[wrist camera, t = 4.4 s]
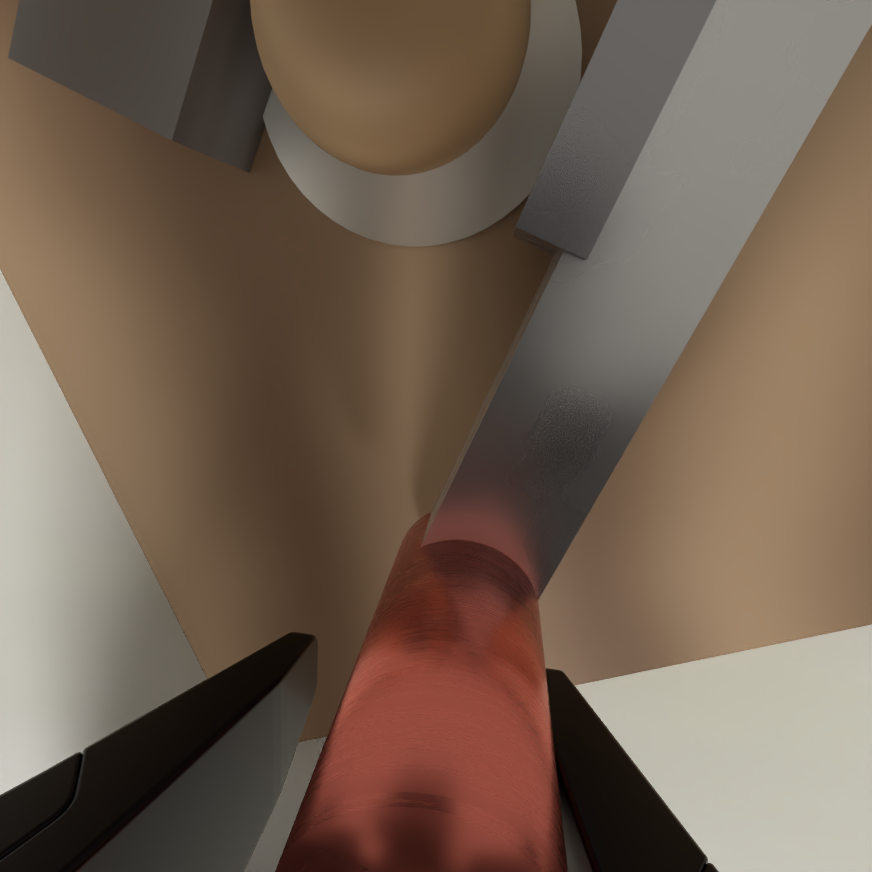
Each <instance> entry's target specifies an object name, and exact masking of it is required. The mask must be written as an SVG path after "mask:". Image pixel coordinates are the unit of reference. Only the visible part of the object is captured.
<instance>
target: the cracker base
mask: <svg viewBox="0 0 872 872" xmlns="http://www.w3.org/2000/svg"><path fill="white" fill-rule="evenodd" d="M616 3H617V0H531V25H530V34H529V41H528V48H527V52H526V56H525V60H524V64H523V67H522V71H521V75H520V77H519V80H518V82H517V85H516V88H515V90H514V93H513V95H512V97H511V99H510V100H509V102H508V104H507V106H506V108H505V110H504V111H503V113H502V114H501V116H500V117H499V119H498V120H497V121H496V123H495V124H494V126H493V127H492V128H491V129H490V130H489V131H488V132H487V134H486V135H485V136H484V137H483V138H482V139H481V140H480V141H479V142H478V143H477V144H475V145H474V146H473V147H472V148H471V149H470V150H468V151H467V152H466V153H464V154H463V155H461V156H460V157H458V158H457V159H455V160H453V161H451V162H449V163H447V164H445V165H443V166H441V167H439V168H436V169H433V170H430V171H427V172H423V173H418V174H412V175H399V176H390V175H381V174H375V173H371V172H367V171H363V170H360V169H358V168H355V167H353V166H351V165H348V164H346V163H344V162H341V161H340V160H338V159H336V158H335V157H333V156H331V155H330V154H328V153H326V152H325V151H324V150H323V149H321V148H320V147H319V146H317V145H316V144H315V143H314V142H313V141H312V140H311V139H310V138H309V137H308V136H307V135H306V134H305V133H304V132H303V131H302V130H301V129H300V128H299V127H298V126H297V125H296V124H295V123H294V121H293V120H292V119H291V117H290V116H289V115H288V113H287V112H286V111H285V109H284V108H283V106H282V104H281V102H280V101H279V99H278V97H277V96H276V94H275V92H274V90H273V88H272V86H271V84H270V82H269V80H268V77H267V75H266V73H265V70H264V68H263V65H262V62H261V59H260V55H259V52H258V49H257V45H256V40H255V35H254V30H253V25H252V18H251V6H250V0H0V269H1V271H2V273H3V275H4V277H5V279H6V281H7V283H8V285H9V287H10V289H11V291H12V293H13V295H14V297H15V299H16V301H17V303H18V305H19V307H20V309H21V311H22V313H23V315H24V317H25V319H26V321H27V323H28V325H29V327H30V329H31V331H32V333H33V335H34V337H35V339H36V341H37V343H38V345H39V347H40V349H41V351H42V352H43V354H44V356H45V358H46V360H47V362H48V364H49V366H50V368H51V370H52V372H53V374H54V376H55V378H56V380H57V382H58V384H59V386H60V388H61V390H62V392H63V394H64V396H65V398H66V400H67V402H68V404H69V406H70V408H71V410H72V412H73V414H74V416H75V418H76V420H77V422H78V424H79V426H80V428H81V430H82V432H83V434H84V436H85V438H86V440H87V442H88V444H89V445H90V447H91V449H92V451H93V453H94V455H95V457H96V459H97V461H98V463H99V465H100V467H101V469H102V471H103V473H104V475H105V477H106V479H107V481H108V483H109V485H110V487H111V489H112V491H113V493H114V495H115V497H116V499H117V501H118V503H119V505H120V507H121V509H122V511H123V513H124V515H125V517H126V519H127V521H128V523H129V525H130V527H131V529H132V531H133V533H134V535H135V537H136V538H137V540H138V542H139V544H140V546H141V548H142V550H143V552H144V554H145V556H146V558H147V560H148V562H149V564H150V566H151V568H152V570H153V572H154V574H155V576H156V578H157V580H158V582H159V584H160V586H161V588H162V590H163V592H164V594H165V596H166V598H167V600H168V602H169V604H170V606H171V608H172V610H173V612H174V614H175V616H176V618H177V620H178V622H179V624H180V626H181V628H182V630H183V631H184V633H185V635H186V637H187V639H188V641H189V643H190V645H191V647H192V649H193V651H194V653H195V655H196V657H197V659H198V661H199V663H200V665H201V667H202V669H203V671H204V673H205V675H206V677H207V679H208V678H210V677H212V676H214V675H215V674H217V673H219V672H221V671H222V670H224V669H226V668H228V667H230V666H231V665H233V664H235V663H237V662H238V661H240V660H242V659H244V658H245V657H247V656H249V655H251V654H252V653H254V652H256V651H258V650H260V649H261V648H263V647H265V646H267V645H268V644H270V643H272V642H274V641H275V640H277V639H279V638H281V637H282V636H284V635H286V634H288V633H290V632H299V633H306V634H313V635H315V636H316V638H317V641H318V668H317V686H316V691H315V695H314V698H313V701H312V704H311V707H310V710H309V713H308V716H307V719H306V722H305V724H304V727H303V730H302V733H301V736H300V739H299V742H301V741H306V740H311V739H316V738H321V737H326V736H328V733H329V730H330V728H331V725H332V723H333V720H334V717H335V715H336V712H337V710H338V707H339V704H340V702H341V699H342V697H343V694H344V691H345V689H346V686H347V684H348V681H349V678H350V676H351V673H352V670H353V668H354V665H355V663H356V660H357V657H358V655H359V652H360V650H361V647H362V644H363V642H364V639H365V637H366V634H367V631H368V629H369V626H370V623H371V621H372V618H373V616H374V613H375V610H376V608H377V605H378V603H379V600H380V597H381V595H382V592H383V590H384V587H385V584H386V582H387V579H388V577H389V574H390V571H391V569H392V566H393V563H394V561H395V558H396V556H397V553H398V550H399V548H400V545H401V543H402V540H403V538H404V536H405V535H406V533H407V531H408V530H409V529H410V528H411V526H412V525H413V524H414V523H415V522H416V521H417V520H419V519H420V518H421V517H423V516H424V515H426V514H427V513H429V512H431V511H432V509H433V507H434V505H435V503H436V501H437V499H438V497H439V495H440V492H441V490H442V488H443V486H444V484H445V482H446V480H447V478H448V476H449V474H450V472H451V470H452V467H453V465H454V463H455V461H456V459H457V457H458V455H459V453H460V451H461V449H462V447H463V445H464V442H465V440H466V438H467V436H468V434H469V432H470V430H471V428H472V426H473V424H474V422H475V419H476V417H477V415H478V413H479V411H480V409H481V407H482V405H483V403H484V401H485V399H486V397H487V394H488V392H489V390H490V388H491V386H492V384H493V382H494V380H495V378H496V376H497V374H498V372H499V369H500V367H501V365H502V363H503V361H504V359H505V357H506V355H507V353H508V351H509V349H510V347H511V344H512V342H513V340H514V338H515V336H516V334H517V332H518V330H519V328H520V326H521V324H522V322H523V319H524V317H525V315H526V313H527V311H528V309H529V307H530V305H531V303H532V301H533V299H534V297H535V294H536V292H537V290H538V288H539V286H540V284H541V282H542V280H543V278H544V276H545V274H546V272H547V269H548V267H549V265H550V263H551V261H552V259H553V257H554V255H552V254H549V253H547V252H545V251H543V250H541V249H539V248H536V247H534V246H532V245H530V244H528V243H526V242H523V241H521V240H519V239H517V238H515V237H513V234H514V230H515V226H516V224H517V222H518V220H519V217H520V215H521V213H522V211H523V209H524V206H525V204H526V202H527V200H528V197H529V195H530V193H531V191H532V189H533V186H534V184H535V182H536V180H537V178H538V175H539V173H540V171H541V169H542V166H543V164H544V162H545V160H546V158H547V155H548V153H549V151H550V149H551V147H552V144H553V142H554V140H555V138H556V135H557V133H558V131H559V129H560V127H561V124H562V122H563V120H564V118H565V116H566V113H567V111H568V109H569V107H570V105H571V102H572V100H573V98H574V96H575V93H576V91H577V89H578V87H579V85H580V82H581V80H582V78H583V76H584V74H585V71H586V69H587V67H588V65H589V62H590V60H591V58H592V56H593V54H594V51H595V49H596V47H597V45H598V43H599V40H600V38H601V36H602V34H603V31H604V29H605V27H606V25H607V23H608V20H609V18H610V16H611V14H612V12H613V9H614V7H615V5H616ZM538 603H539V612H540V622H541V631H542V640H543V649H544V658H545V667H546V668H550V669H557V670H561V671H563V672H564V673H565V674H566V676H567V677H568V678H569V679H570V681H571V682H572V683H573V685H579V684H584V683H589V682H593V681H598V680H603V679H608V678H613V677H618V676H623V675H628V674H632V673H637V672H642V671H647V670H652V669H657V668H662V667H666V666H671V665H676V664H681V663H686V662H691V661H696V660H701V659H705V658H710V657H715V656H720V655H725V654H730V653H735V652H739V651H744V650H749V649H754V648H759V647H764V646H769V645H774V644H778V643H783V642H788V641H793V640H798V639H803V638H808V637H813V636H817V635H822V634H827V633H832V632H837V631H842V630H847V629H851V628H856V627H861V626H866V625H871V624H872V25H871V26H870V28H869V30H868V32H867V33H866V35H865V37H864V39H863V40H862V42H861V44H860V45H859V47H858V49H857V51H856V52H855V54H854V56H853V58H852V59H851V61H850V63H849V64H848V66H847V68H846V70H845V71H844V73H843V75H842V77H841V78H840V80H839V82H838V83H837V85H836V87H835V89H834V90H833V92H832V94H831V96H830V97H829V99H828V101H827V102H826V104H825V106H824V108H823V109H822V111H821V113H820V115H819V116H818V118H817V120H816V121H815V123H814V125H813V127H812V128H811V130H810V132H809V134H808V135H807V137H806V139H805V140H804V142H803V144H802V146H801V147H800V149H799V151H798V153H797V154H796V156H795V158H794V159H793V161H792V163H791V165H790V166H789V168H788V170H787V172H786V173H785V175H784V177H783V178H782V180H781V182H780V184H779V185H778V187H777V189H776V191H775V192H774V194H773V196H772V197H771V199H770V201H769V203H768V204H767V206H766V208H765V210H764V211H763V213H762V215H761V216H760V218H759V220H758V222H757V223H756V225H755V227H754V229H753V230H752V232H751V234H750V235H749V237H748V239H747V241H746V242H745V244H744V246H743V248H742V249H741V251H740V253H739V254H738V256H737V258H736V260H735V261H734V263H733V265H732V267H731V268H730V270H729V272H728V273H727V275H726V277H725V279H724V280H723V282H722V284H721V286H720V287H719V289H718V291H717V292H716V294H715V296H714V298H713V299H712V301H711V303H710V305H709V306H708V308H707V310H706V311H705V313H704V315H703V317H702V318H701V320H700V322H699V324H698V325H697V327H696V329H695V330H694V332H693V334H692V336H691V337H690V339H689V341H688V343H687V344H686V346H685V348H684V349H683V351H682V353H681V355H680V356H679V358H678V360H677V362H676V363H675V365H674V367H673V368H672V370H671V372H670V374H669V375H668V377H667V379H666V381H665V382H664V384H663V386H662V387H661V389H660V391H659V393H658V394H657V396H656V398H655V400H654V401H653V403H652V405H651V406H650V408H649V410H648V412H647V413H646V415H645V417H644V419H643V420H642V422H641V424H640V425H639V427H638V429H637V431H636V432H635V434H634V436H633V438H632V439H631V441H630V443H629V444H628V446H627V448H626V450H625V451H624V453H623V455H622V457H621V458H620V460H619V462H618V463H617V465H616V467H615V469H614V470H613V472H612V474H611V476H610V477H609V479H608V481H607V482H606V484H605V486H604V488H603V489H602V491H601V493H600V495H599V496H598V498H597V500H596V501H595V503H594V505H593V507H592V508H591V510H590V512H589V514H588V515H587V517H586V519H585V520H584V522H583V524H582V526H581V527H580V529H579V531H578V533H577V534H576V536H575V538H574V539H573V541H572V543H571V545H570V546H569V548H568V550H567V552H566V553H565V555H564V557H563V558H562V560H561V562H560V564H559V565H558V567H557V569H556V571H555V572H554V574H553V576H552V577H551V579H550V581H549V583H548V584H547V586H546V588H545V590H544V591H543V593H542V595H541V596H540V598H539V600H538Z"/></svg>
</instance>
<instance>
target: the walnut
mask: <svg viewBox="0 0 872 872" xmlns="http://www.w3.org/2000/svg"><path fill="white" fill-rule="evenodd" d="M250 6H251V18H252V25H253V30H254V35H255V40H256V45H257V49H258V52H259V55H260V59H261V62H262V65H263V68H264V70H265V73H266V75H267V77H268V80H269V82H270V84H271V86H272V88H273V90H274V92H275V94H276V96H277V97H278V99H279V101H280V102H281V104H282V106H283V108H284V109H285V111H286V112H287V113H288V115H289V116H290V117H291V119H292V120H293V121H294V123H295V124H296V125H297V126H298V127H299V128H300V129H301V130H302V131H303V132H304V133H305V134H306V135H307V136H308V137H309V138H310V139H311V140H312V141H313V142H314V143H315V144H316V145H317V146H319V147H320V148H321V149H323V150H324V151H325V152H326V153H328V154H330V155H331V156H333V157H335V158H336V159H338V160H340V161H341V162H344V163H346V164H348V165H351V166H353V167H355V168H358V169H360V170H363V171H367V172H371V173H375V174H381V175H390V176H399V175H412V174H418V173H423V172H427V171H430V170H433V169H436V168H439V167H441V166H443V165H445V164H447V163H449V162H451V161H453V160H455V159H457V158H458V157H460V156H461V155H463V154H464V153H466V152H467V151H468V150H470V149H471V148H472V147H473V146H474V145H475V144H477V143H478V142H479V141H480V140H481V139H482V138H483V137H484V136H485V135H486V134H487V132H488V131H489V130H490V129H491V128H492V127H493V126H494V124H495V123H496V121H497V120H498V119H499V117H500V116H501V114H502V113H503V111H504V110H505V108H506V106H507V104H508V102H509V100H510V99H511V97H512V95H513V93H514V90H515V88H516V85H517V82H518V80H519V77H520V75H521V71H522V67H523V64H524V60H525V56H526V52H527V48H528V41H529V34H530V25H531V0H250Z"/></svg>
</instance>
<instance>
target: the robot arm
mask: <svg viewBox="0 0 872 872" xmlns="http://www.w3.org/2000/svg"><path fill="white" fill-rule="evenodd" d="M317 668H318V641H317V638H316V636H315V635H313V634H306V633H299V632H290V633H288V634H286V635H284V636H282V637H281V638H279V639H277V640H275V641H274V642H272V643H270V644H268V645H267V646H265V647H263V648H261V649H260V650H258V651H256V652H254V653H252V654H251V655H249V656H247V657H245V658H244V659H242V660H240V661H238V662H237V663H235V664H233V665H231V666H230V667H228V668H226V669H224V670H222V671H221V672H219V673H217V674H215V675H214V676H212V677H210V678H208V679H207V680H205V681H203V682H201V683H200V684H198V685H196V686H194V687H192V688H191V689H189V690H187V691H185V692H184V693H182V694H180V695H178V696H177V697H175V698H173V699H171V700H170V701H168V702H166V703H164V704H162V705H161V706H159V707H157V708H155V709H154V710H152V711H150V712H148V713H147V714H145V715H143V716H141V717H140V718H138V719H136V720H134V721H132V722H131V723H129V724H127V725H125V726H124V727H122V728H120V729H118V730H117V731H115V732H113V733H111V734H110V735H108V736H106V737H104V738H102V739H101V740H99V741H97V742H95V743H94V744H92V745H90V746H88V747H87V748H85V749H84V751H83V754H82V753H80V752H78V753H76V754H74V755H72V756H70V757H69V758H67V759H65V760H63V761H62V762H60V763H58V764H56V765H54V766H53V767H51V768H49V769H47V770H46V771H44V772H42V773H40V774H38V775H36V776H35V777H33V778H31V779H29V780H27V781H25V782H23V783H22V784H20V785H18V786H16V787H14V788H12V789H11V790H9V791H7V792H5V793H3V794H1V795H0V872H244V870H245V868H246V866H247V864H248V862H249V860H250V857H251V855H252V853H253V851H254V849H255V847H256V845H257V842H258V840H259V838H260V836H261V834H262V832H263V830H264V828H265V825H266V823H267V821H268V819H269V817H270V815H271V813H272V811H273V808H274V806H275V804H276V802H277V799H278V797H279V795H280V792H281V790H282V787H283V784H284V782H285V779H286V776H287V773H288V770H289V768H290V765H291V762H292V759H293V756H294V753H295V750H296V747H297V745H298V742H299V739H300V736H301V733H302V730H303V727H304V724H305V722H306V719H307V716H308V713H309V710H310V707H311V704H312V701H313V698H314V695H315V691H316V686H317ZM546 676H547V685H548V694H549V704H550V713H551V722H552V731H553V740H554V749H555V758H556V767H557V776H558V785H559V795H560V804H561V813H562V822H563V831H564V840H565V849H566V858H567V867H568V872H718V870H717V869H716V868H715V866H714V865H713V864H711V863H708V859H707V857H706V855H705V854H704V853H703V851H702V850H701V849H700V847H699V846H698V845H697V844H696V842H695V841H694V840H693V838H692V837H691V836H690V835H689V833H688V832H687V831H686V829H685V828H684V827H683V825H682V824H681V823H680V822H679V820H678V819H677V818H676V816H675V815H674V814H673V813H672V811H671V810H670V809H669V807H668V806H667V805H666V803H665V802H664V801H663V800H662V798H661V797H660V796H659V794H658V793H657V792H656V791H655V789H654V788H653V787H652V785H651V784H650V783H649V782H648V780H647V779H646V778H645V776H644V775H643V774H642V772H641V771H640V770H639V769H638V767H637V766H636V765H635V763H634V762H633V761H632V760H631V758H630V757H629V756H628V754H627V753H626V752H625V750H624V749H623V748H622V747H621V745H620V744H619V743H618V741H617V740H616V739H615V738H614V736H613V735H612V734H611V732H610V731H609V730H608V729H607V727H606V726H605V725H604V723H603V722H602V721H601V719H600V718H599V717H598V716H597V714H596V713H595V712H594V710H593V709H592V708H591V707H590V705H589V704H588V703H587V701H586V700H585V699H584V697H583V696H582V695H581V694H580V692H579V691H578V690H577V688H576V687H575V686H574V685H573V683H572V682H571V681H570V679H569V678H568V677H567V676H566V674H565V673H564V672H563V671H561V670H557V669H550V668H546Z"/></svg>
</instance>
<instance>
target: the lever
mask: <svg viewBox="0 0 872 872" xmlns="http://www.w3.org/2000/svg"><path fill="white" fill-rule="evenodd" d="M871 25H872V0H617V3H616V5H615V7H614V9H613V12H612V14H611V16H610V18H609V20H608V23H607V25H606V27H605V29H604V31H603V34H602V36H601V38H600V40H599V43H598V45H597V47H596V49H595V51H594V54H593V56H592V58H591V60H590V62H589V65H588V67H587V69H586V71H585V74H584V76H583V78H582V80H581V82H580V85H579V87H578V89H577V91H576V93H575V96H574V98H573V100H572V102H571V105H570V107H569V109H568V111H567V113H566V116H565V118H564V120H563V122H562V124H561V127H560V129H559V131H558V133H557V135H556V138H555V140H554V142H553V144H552V147H551V149H550V151H549V153H548V155H547V158H546V160H545V162H544V164H543V166H542V169H541V171H540V173H539V175H538V178H537V180H536V182H535V184H534V186H533V189H532V191H531V193H530V195H529V197H528V200H527V202H526V204H525V206H524V209H523V211H522V213H521V215H520V217H519V220H518V222H517V224H516V226H515V230H514V234H513V237H515V238H517V239H519V240H521V241H523V242H526V243H528V244H530V245H532V246H534V247H536V248H539V249H541V250H543V251H545V252H547V253H549V254H552V255H554V257H553V259H552V261H551V263H550V265H549V267H548V269H547V272H546V274H545V276H544V278H543V280H542V282H541V284H540V286H539V288H538V290H537V292H536V294H535V297H534V299H533V301H532V303H531V305H530V307H529V309H528V311H527V313H526V315H525V317H524V319H523V322H522V324H521V326H520V328H519V330H518V332H517V334H516V336H515V338H514V340H513V342H512V344H511V347H510V349H509V351H508V353H507V355H506V357H505V359H504V361H503V363H502V365H501V367H500V369H499V372H498V374H497V376H496V378H495V380H494V382H493V384H492V386H491V388H490V390H489V392H488V394H487V397H486V399H485V401H484V403H483V405H482V407H481V409H480V411H479V413H478V415H477V417H476V419H475V422H474V424H473V426H472V428H471V430H470V432H469V434H468V436H467V438H466V440H465V442H464V445H463V447H462V449H461V451H460V453H459V455H458V457H457V459H456V461H455V463H454V465H453V467H452V470H451V472H450V474H449V476H448V478H447V480H446V482H445V484H444V486H443V488H442V490H441V492H440V495H439V497H438V499H437V501H436V503H435V505H434V507H433V509H432V511H431V512H429V513H427V514H426V515H424V516H423V517H421V518H420V519H419V520H417V521H416V522H415V523H414V524H413V525H412V526H411V528H410V529H409V530H408V531H407V533H406V535H405V536H404V538H403V540H402V543H401V545H400V548H399V550H398V553H397V556H396V558H395V561H394V563H393V566H392V569H391V571H390V574H389V577H388V579H387V582H386V584H385V587H384V590H383V592H382V595H381V597H380V600H379V603H378V605H377V608H376V610H375V613H374V616H373V618H372V621H371V623H370V626H369V629H368V631H367V634H366V637H365V639H364V642H363V644H362V647H361V650H360V652H359V655H358V657H357V660H356V663H355V665H354V668H353V670H352V673H351V676H350V678H349V681H348V684H347V686H346V689H345V691H344V694H343V697H342V699H341V702H340V704H339V707H338V710H337V712H336V715H335V717H334V720H333V723H332V725H331V728H330V730H329V733H328V736H327V738H326V741H325V744H324V746H323V749H322V751H321V754H320V757H319V759H318V762H317V764H316V767H315V770H314V772H313V775H312V777H311V780H310V783H309V785H308V788H307V791H306V793H305V796H304V798H303V801H302V804H301V806H300V809H299V811H298V814H297V817H296V819H295V822H294V824H293V827H292V830H291V832H290V835H289V838H288V840H287V843H286V845H285V848H284V851H283V853H282V856H281V858H280V861H279V864H278V866H277V869H276V871H275V872H568V867H567V858H566V849H565V840H564V831H563V822H562V813H561V804H560V795H559V785H558V776H557V767H556V758H555V749H554V740H553V731H552V722H551V713H550V704H549V694H548V685H547V676H546V667H545V658H544V649H543V640H542V631H541V622H540V612H539V603H538V600H539V598H540V596H541V595H542V593H543V591H544V590H545V588H546V586H547V584H548V583H549V581H550V579H551V577H552V576H553V574H554V572H555V571H556V569H557V567H558V565H559V564H560V562H561V560H562V558H563V557H564V555H565V553H566V552H567V550H568V548H569V546H570V545H571V543H572V541H573V539H574V538H575V536H576V534H577V533H578V531H579V529H580V527H581V526H582V524H583V522H584V520H585V519H586V517H587V515H588V514H589V512H590V510H591V508H592V507H593V505H594V503H595V501H596V500H597V498H598V496H599V495H600V493H601V491H602V489H603V488H604V486H605V484H606V482H607V481H608V479H609V477H610V476H611V474H612V472H613V470H614V469H615V467H616V465H617V463H618V462H619V460H620V458H621V457H622V455H623V453H624V451H625V450H626V448H627V446H628V444H629V443H630V441H631V439H632V438H633V436H634V434H635V432H636V431H637V429H638V427H639V425H640V424H641V422H642V420H643V419H644V417H645V415H646V413H647V412H648V410H649V408H650V406H651V405H652V403H653V401H654V400H655V398H656V396H657V394H658V393H659V391H660V389H661V387H662V386H663V384H664V382H665V381H666V379H667V377H668V375H669V374H670V372H671V370H672V368H673V367H674V365H675V363H676V362H677V360H678V358H679V356H680V355H681V353H682V351H683V349H684V348H685V346H686V344H687V343H688V341H689V339H690V337H691V336H692V334H693V332H694V330H695V329H696V327H697V325H698V324H699V322H700V320H701V318H702V317H703V315H704V313H705V311H706V310H707V308H708V306H709V305H710V303H711V301H712V299H713V298H714V296H715V294H716V292H717V291H718V289H719V287H720V286H721V284H722V282H723V280H724V279H725V277H726V275H727V273H728V272H729V270H730V268H731V267H732V265H733V263H734V261H735V260H736V258H737V256H738V254H739V253H740V251H741V249H742V248H743V246H744V244H745V242H746V241H747V239H748V237H749V235H750V234H751V232H752V230H753V229H754V227H755V225H756V223H757V222H758V220H759V218H760V216H761V215H762V213H763V211H764V210H765V208H766V206H767V204H768V203H769V201H770V199H771V197H772V196H773V194H774V192H775V191H776V189H777V187H778V185H779V184H780V182H781V180H782V178H783V177H784V175H785V173H786V172H787V170H788V168H789V166H790V165H791V163H792V161H793V159H794V158H795V156H796V154H797V153H798V151H799V149H800V147H801V146H802V144H803V142H804V140H805V139H806V137H807V135H808V134H809V132H810V130H811V128H812V127H813V125H814V123H815V121H816V120H817V118H818V116H819V115H820V113H821V111H822V109H823V108H824V106H825V104H826V102H827V101H828V99H829V97H830V96H831V94H832V92H833V90H834V89H835V87H836V85H837V83H838V82H839V80H840V78H841V77H842V75H843V73H844V71H845V70H846V68H847V66H848V64H849V63H850V61H851V59H852V58H853V56H854V54H855V52H856V51H857V49H858V47H859V45H860V44H861V42H862V40H863V39H864V37H865V35H866V33H867V32H868V30H869V28H870V26H871Z"/></svg>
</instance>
